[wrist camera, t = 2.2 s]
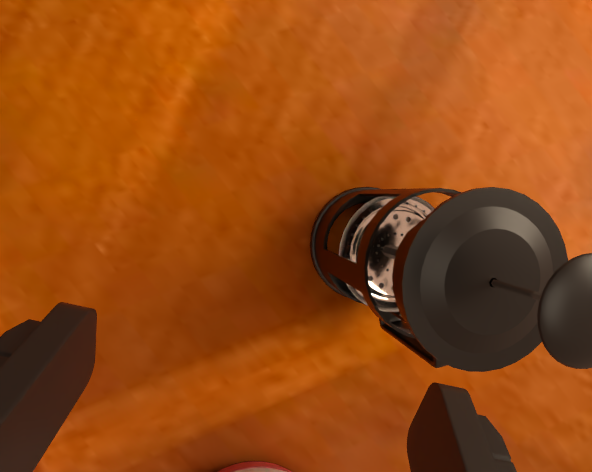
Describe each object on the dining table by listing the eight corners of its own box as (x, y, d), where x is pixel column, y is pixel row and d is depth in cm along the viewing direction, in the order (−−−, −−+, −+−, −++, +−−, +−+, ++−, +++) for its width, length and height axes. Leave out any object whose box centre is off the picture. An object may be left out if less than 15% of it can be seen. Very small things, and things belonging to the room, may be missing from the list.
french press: (298, 190, 37) (456, 187, 14) (405, 169, 38) (695, 136, 16) (324, 329, 38) (503, 522, 16) (426, 302, 40) (717, 442, 18)
